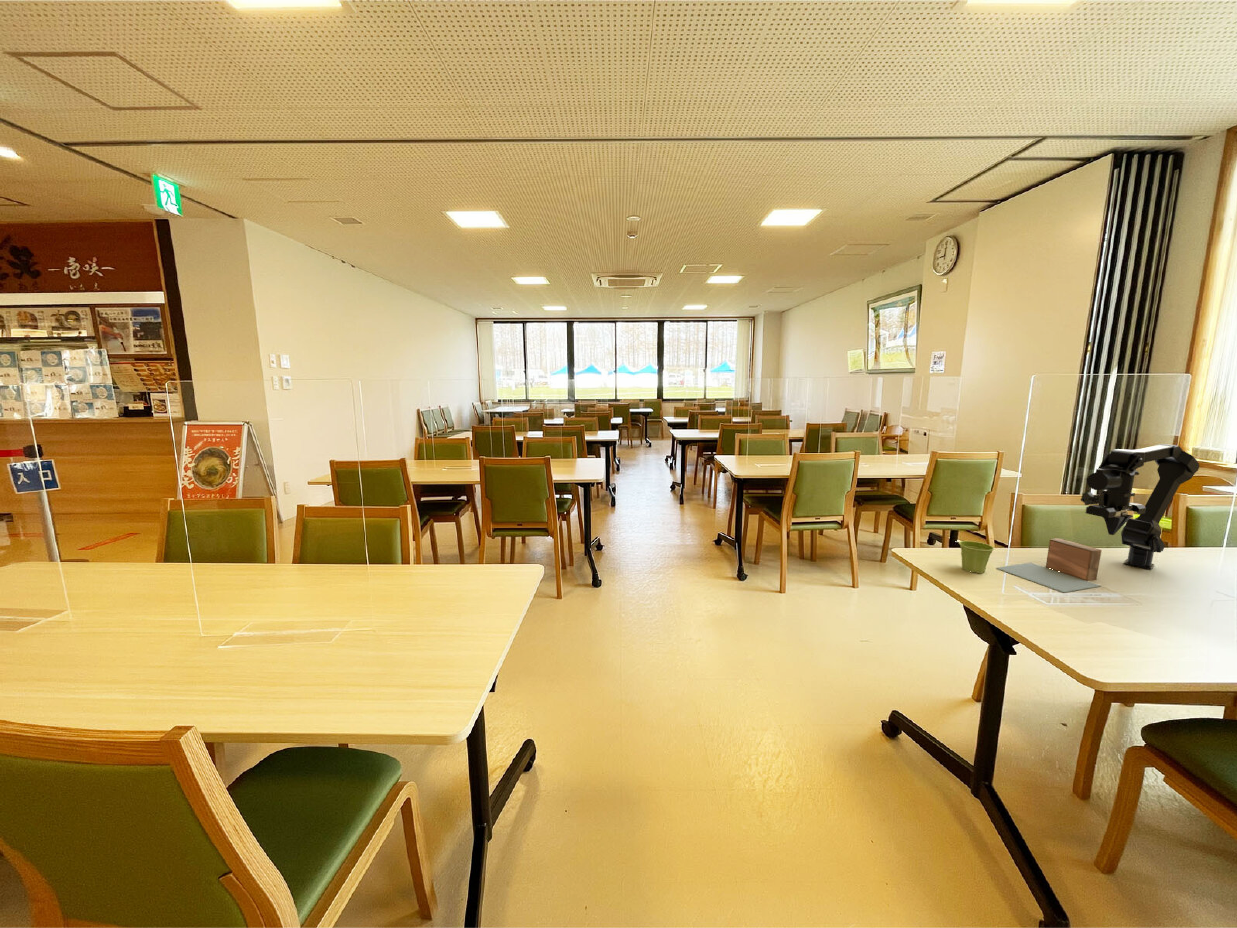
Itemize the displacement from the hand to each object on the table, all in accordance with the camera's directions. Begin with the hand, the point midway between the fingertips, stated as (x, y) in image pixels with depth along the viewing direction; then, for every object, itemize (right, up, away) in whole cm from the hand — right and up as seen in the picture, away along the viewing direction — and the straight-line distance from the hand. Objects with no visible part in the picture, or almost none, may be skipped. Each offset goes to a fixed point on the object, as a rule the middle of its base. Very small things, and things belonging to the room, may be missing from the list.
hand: (1111, 534), depth 162 cm
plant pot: (-44, -12, +2) cm, 46 cm away
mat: (-25, -13, -4) cm, 29 cm away
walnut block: (-15, -13, -1) cm, 19 cm away
